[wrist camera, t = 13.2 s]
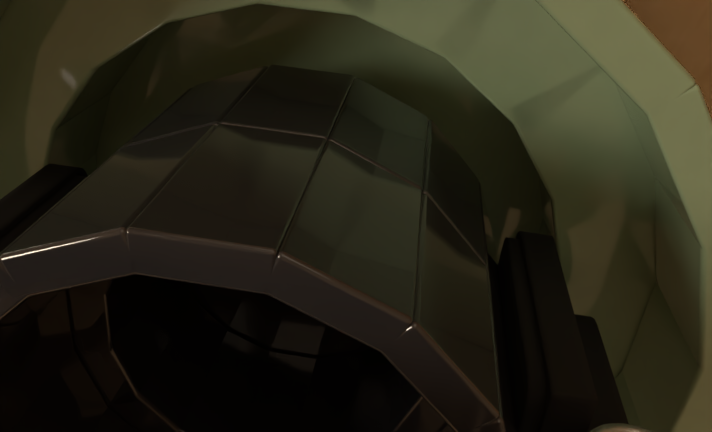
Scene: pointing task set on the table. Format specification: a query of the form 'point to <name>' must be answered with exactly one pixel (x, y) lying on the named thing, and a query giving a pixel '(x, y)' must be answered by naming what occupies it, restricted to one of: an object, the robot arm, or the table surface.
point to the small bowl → (262, 275)
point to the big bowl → (454, 119)
